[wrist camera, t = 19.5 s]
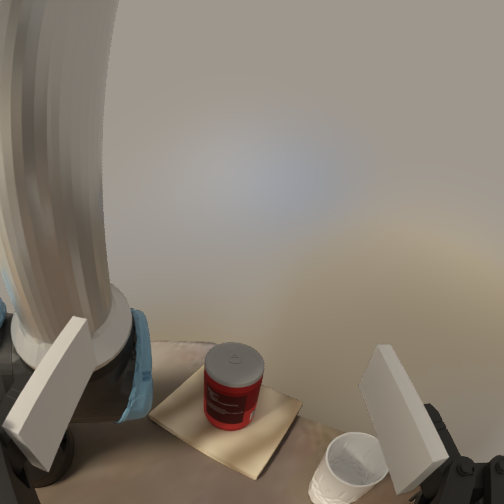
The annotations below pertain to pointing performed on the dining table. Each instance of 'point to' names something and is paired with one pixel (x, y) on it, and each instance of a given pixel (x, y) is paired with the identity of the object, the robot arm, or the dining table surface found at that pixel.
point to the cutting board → (228, 442)
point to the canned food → (232, 385)
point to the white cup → (348, 469)
